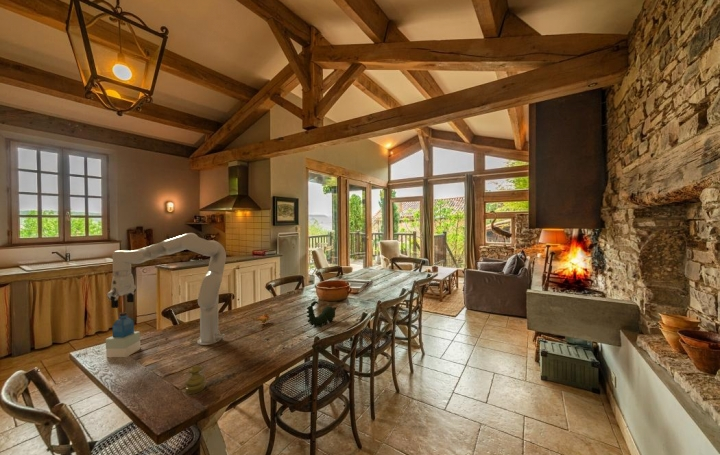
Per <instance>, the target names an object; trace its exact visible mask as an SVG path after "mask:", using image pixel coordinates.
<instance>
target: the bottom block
mask: <svg viewBox="0 0 720 455" xmlns="http://www.w3.org/2000/svg"><path fill="white" fill-rule="evenodd" d="M140 349H141V340H140V341H138V342H136V343H134V344H133V345H131V346H129V347H127V348H125V349H106V348H105V353H106V355H105V357H126V358H127V357H129V356H130V355H132V354H134V353H136V352H138V351H140Z"/></svg>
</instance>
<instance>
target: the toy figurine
mask: <svg viewBox="0 0 720 455" xmlns="http://www.w3.org/2000/svg"><path fill="white" fill-rule="evenodd" d="M316 304H317V305H319V302H318V301H316V300H314V301H312V302H311V304H310V305H308V307H306V313H307V315H306V317H307V318H308V319H307V322H308V323H310V326H313V327H314V328H317V327H318V325H319V327H320V326H322V327H323V324H324V325H328V323H329V321H332V322H333V321H334V319H335V318H336V309H337V306H336V307H332V306H330V305H329V306H325V307H324V308H323V309H322V310H321V313H319V314H318V316H316V313H314V312H315V311H314V306H315V305H316Z"/></svg>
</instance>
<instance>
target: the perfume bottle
mask: <svg viewBox="0 0 720 455" xmlns="http://www.w3.org/2000/svg"><path fill="white" fill-rule="evenodd" d="M134 331H135V321H134V320H133V319H132V318H131V317H128V312H127V311H122V312H119V316H118V319H116V320H115V321H114V323H113V324H112V336H113V337H121V338H124V337H126V336H128V335H130V334H133V333H134Z"/></svg>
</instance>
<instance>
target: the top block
mask: <svg viewBox="0 0 720 455" xmlns="http://www.w3.org/2000/svg"><path fill="white" fill-rule="evenodd" d="M138 341H140V342H141V331H138V330H137V331H135V330H134V333H133V334H130V335H128V336H126V337H124V338H121V337H113V335H112V336H111V335H110V337H107V338H105V350H106V349H125V348H127V347H129V346H131V345H133V344H134V343H136V342H138Z"/></svg>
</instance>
